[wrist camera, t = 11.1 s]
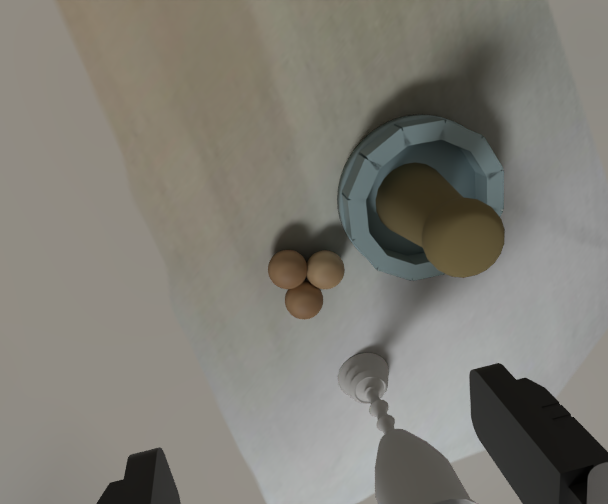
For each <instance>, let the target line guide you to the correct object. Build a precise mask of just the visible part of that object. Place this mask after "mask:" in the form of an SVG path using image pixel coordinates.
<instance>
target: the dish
mask: <svg viewBox="0 0 608 504" xmlns="http://www.w3.org/2000/svg"><path fill="white" fill-rule="evenodd" d="M414 162H416V163H423V164H427V165H429V166H430V167H432V168H434V169H436V170H437V171H438V172H439V173H440V174H441V175H442V176H443V177H444V178H445V179H446V180H447V181H448V182H449V183H450V184H451V185H452V186H453V187H454V188H455V189H456V190H457V191H458V192H459V193H460V194H461V195H462V196H463V197H464V198H472V199H478V200H480V201H481V202H483V203H485V204H487V205H489V206H491V207H492V208H493V209H494V211H495V212H496V213H497V214H498V215H499V217H500V216H501V214H502V212H503V211H502V209H504V170H502V169H503V167H502V165H501V164H500V162H499V161H498V159H497V157H496V156H495V154H494V152H493V151H492V149H491V147H490V146H489V144H488V142H487V141H486V139H485V138H484V136H482V135H481V134H478V133H476V132H474V131H471V130H469V129H466V128H465V127H464V126H462V125H460V124H458V123H456V122H454V121H451V120H448V119H445V118H442V117H439V116H434V115H426V114H416V115H408V116H404V117H400V118H396V119H394V120H391V121H389V122H387V123H385V124H383V125H381V126H379V127H378V128H376V129H375V130H374V131H372V132H371V133H370V134H368V135H367V136H366V137H365V138H364V139H363V140H362V141H361V142H360V143H359V145H358V146H357V147H356V148H355V149H354V151H353V152H352V154H351V155H350V157H349V158H348V160H347V162H346V165H345V167H344V169H343V172H342V175H341V177H340V182H339V186H338V195H337V204H338V212H339V218H340V221H341V224H342V227H343V229H344V231H345V233H346V235H347V236H348V238H349V239H350V241H351V242H352V243H353V245H354V246H355V247H356V249H357V250H358V251H359V252H360V253H361V254H362V255H363V256H365V257H366V258H367V259H368V260H369V262H370V263H371V264H372V265H373V266H374V268H375V269H377V270H378V271H382V272H385V273H388V274H391V275H394V276H397V277H401V278H404V279H407V280H410V281H411V280H413V281H415V280H420V279H425V278H429V277H434V276H439V275H444V274H445V273H443V272H441V271H439V270H437V269H436V267H435V266H434V265H433V264H432V263H431V262H430V261H429V260H428V259H427V257H426V254H425V252H424V249H423V248H422V247H420V246H419V245H417V244H415V243H413V242H411V241H410V240H408V239H406V238H404V237H402V236H400V235H399V234H397V233H395V232H393V231H391V230H390V229H388V228H387V227H386V226H385V225H384V224H383V223H382V222H381V221H380V218H379V216H378V214H377V212H376V196H377V192H378V188H379V186H380V185H381V183H382V181H383V179H384V178H385V177H386V176H387V175H388V174H389V173H390V172H391V171H392V170H394V169H396V168H398V167H399V166H401V165H403V164H408V163H414Z"/></svg>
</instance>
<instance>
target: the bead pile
mask: <svg viewBox="0 0 608 504" xmlns="http://www.w3.org/2000/svg"><path fill="white" fill-rule="evenodd" d="M268 273H269V277H270V279H271V280H272V282H273V283H274V284H275V285H276V286H278V287H280V288H283V289H288V291H287V293H286V296H285V305H286V308H287V310H288V311H289V313H290V314H291V315H293V316H294V317H296V318H299V319H310V318H312V317H314V316H315V315H317V314H318V313H319V311H320V310H321V308H322V305H323V295H322V292H321V290H320V289H330V288H333V287H335V286H336V285H338V284H339V283H340V281H341V280H342V278H343V276H344V264H343V261H342V260H341V258H340V257H339V256H338V255H337V254H336V253H334V252H332V251H327V250H323V251H319V252H316V253H314V254H313V255H312V256H311V257H310V258H309V260H308V261H307V263H306V261H305V259H304V258H303V256H302V255H301V254H299V253H298V252H296V251H293V250H282V251H280V252H278V253H276V254H275V255H274V256H273V257H272V258H271V260H270V262H269V266H268ZM306 275H307V278H308V280H309V281H310V282H308V281H304V280H305V278H306ZM319 288H320V289H319Z"/></svg>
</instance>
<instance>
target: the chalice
mask: <svg viewBox="0 0 608 504" xmlns="http://www.w3.org/2000/svg"><path fill="white" fill-rule="evenodd" d="M388 375H389V368H388V365H387V363H386V361H385V360H384V359H383V358H382V357H381V356H379V355H376V354H374V353H362V354H357V355H355V356H353V357H351V358H350V359H348V360H347V361H346V362H345V363H344V364H343V366H342V367H341V369H340V370H339V374H338V385H339V386H340V388H341V390H342V391H343V392H344V393H345V394H346V395H349V396H350V397H351V398H353V399H354V400H355V401H357V402H359V403H371V406H370V408H369V412H370V414H371V415H372V416H374V417H377V418H378V421H377V428H378V429H379V430H381V431H383V433H384V434H385V435H384V436H383V437H382V438H381V440H380V443H379V447H378V453H377V459H376V465H375V495H376V500H377V502H378V504H478V503H476V502H474V501H473V500H471V499H470V497H469V496H468V494H467V492H466V490H465V489H464V487H463V485H462V483H461V482H460V480H459V478H458V476H457V475H456V473H455V471H454V470H453V468H452V466H451V464H450V463H449V461H448V460H447V459H446V458H445V457H444V456H443V455H442V454H441V453H440V452H439V451H438V450H436V449H435V448H434V447H432V446H431V445H430V444H429V443H427V442H426V441H424V440H422V439H421V438H419V437H417V436H415V435H413V434H411V433H410V432H408V431H406V430H403V429H394V423H395V420H394V418H393V417H392V416H390V415H388V414H387V411H388V403H387V402H386V401H384V400H381V399H380V398H381V397H382V396H383V395H384V393H385V392H386V390H387V387H388Z"/></svg>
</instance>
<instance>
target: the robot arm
mask: <svg viewBox="0 0 608 504" xmlns="http://www.w3.org/2000/svg"><path fill="white" fill-rule="evenodd" d="M470 400H471V418H472V423H473V426H474V429H475V432H476V434H477V436H478V438H479V440H480V442H481V443H482V444H483V446H484V447H485V449H486V450H487V452H488V453H489V455H490V456H491V457H492V459H493V461H495V463H496V465H497V466H498V468H499V469H500V471H501V472H502V474H503V475H504V477H505V478H506V480H507V481H508V482H509V484H510V485H511V487H512V488H513V490H514V491H515V493H516V494H517V495H518V497H519V499H520V500H521V502H522V503H523V504H608V452H607V451H606V450H605V449H604V448H603V447H602V446H601V445H600V444H599V443H598V442H597V441H596V440H595V439H594V437H592V436H591V434H590V433H589V432H588V431H587V430H586V429H585V428H583V426H582V425H581V424H580V423H579V422H578V421H577V420H576V419H575V418H574V417H571V414H570V413H569V412H568V411H567V410H566V409H565V408H564V407H563V406H562V405H560V404H559V402H558V401H557V400H556V399H555V398H554V397H553V396H552V394H551V393H550V392H549V391H548V390H547V389H546V388H544V387H542V386H540V385H539V384H537V383H535V382H533V381H531V380H529V379H527V378H522V379H518V380H516V379H515V378H514V377H513V376H512V375H511V374H510V372H509V371H508V370H507V369H506V368H505V367H504V366H503V365H502V364H500V363H497V364H493V365H489V366H485V367H481V368H477V369H473V370H471V371H470ZM97 504H180V498H179V494H178V490H177V488H176V485H175V482H174V479H173V476H172V474H171V471H170V468H169V465H168V463H167V460H166V457H165V454H164V452H163V450H162V448H156V449H152V450H148V451H144V452H140V453H136V454H132V455H130V456H129V457H128V461H127V465H126V470H125V476H124V479H123V480H119V481H115V482H112V483H110V484H109V485H108V487H107V488H106V490H105V491H104V493H103V494H102V496H101V497H100V499H99V500H98V502H97Z"/></svg>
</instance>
